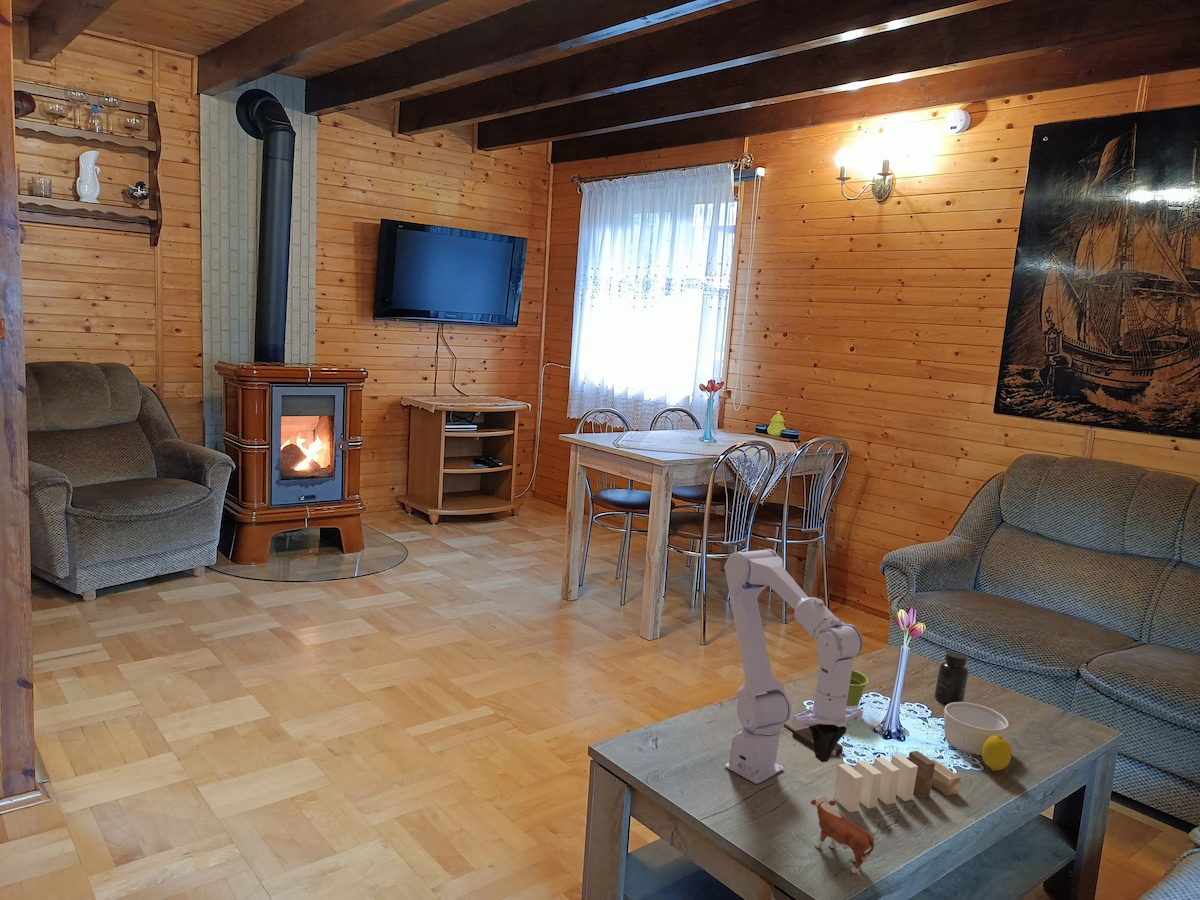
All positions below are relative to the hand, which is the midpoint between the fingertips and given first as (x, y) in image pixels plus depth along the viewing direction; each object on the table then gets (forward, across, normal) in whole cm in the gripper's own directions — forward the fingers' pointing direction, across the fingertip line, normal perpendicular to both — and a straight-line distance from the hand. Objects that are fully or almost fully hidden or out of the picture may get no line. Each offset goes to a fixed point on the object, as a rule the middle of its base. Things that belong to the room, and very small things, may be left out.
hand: (821, 759), depth 160 cm
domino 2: (+10, +12, 0) cm, 16 cm away
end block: (+10, +32, 0) cm, 33 cm away
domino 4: (+10, +21, 0) cm, 23 cm away
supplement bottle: (+11, +65, +30) cm, 73 cm away
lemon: (+11, +48, +1) cm, 49 cm away
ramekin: (+11, +53, +11) cm, 55 cm away
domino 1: (+10, +8, 0) cm, 13 cm away
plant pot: (+11, +34, +32) cm, 48 cm away
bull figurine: (+11, -5, -12) cm, 17 cm away
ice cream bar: (+11, +17, +23) cm, 30 cm away
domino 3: (+10, +16, 0) cm, 20 cm away
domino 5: (+10, +26, 0) cm, 28 cm away
